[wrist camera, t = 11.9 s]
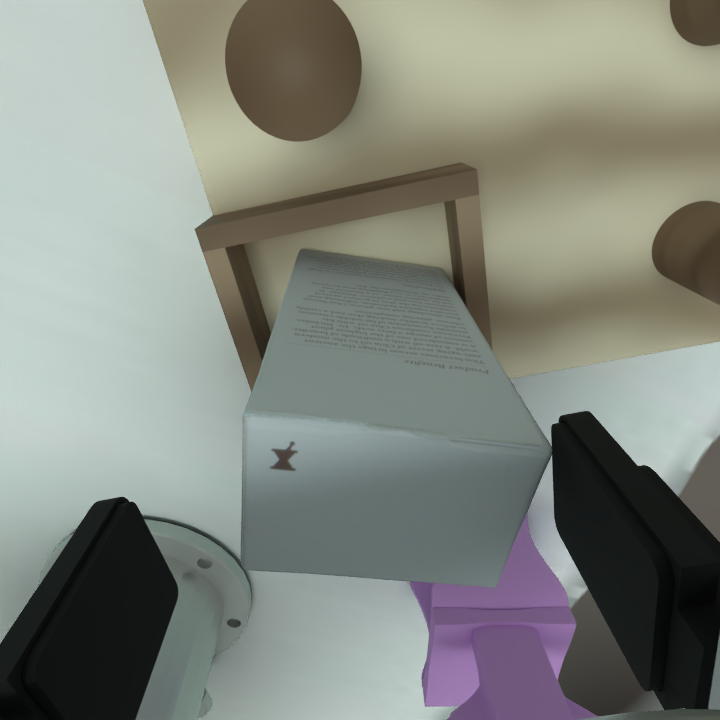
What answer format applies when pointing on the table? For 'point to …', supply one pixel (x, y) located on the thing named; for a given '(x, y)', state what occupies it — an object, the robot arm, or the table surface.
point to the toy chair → (500, 642)
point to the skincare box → (383, 432)
